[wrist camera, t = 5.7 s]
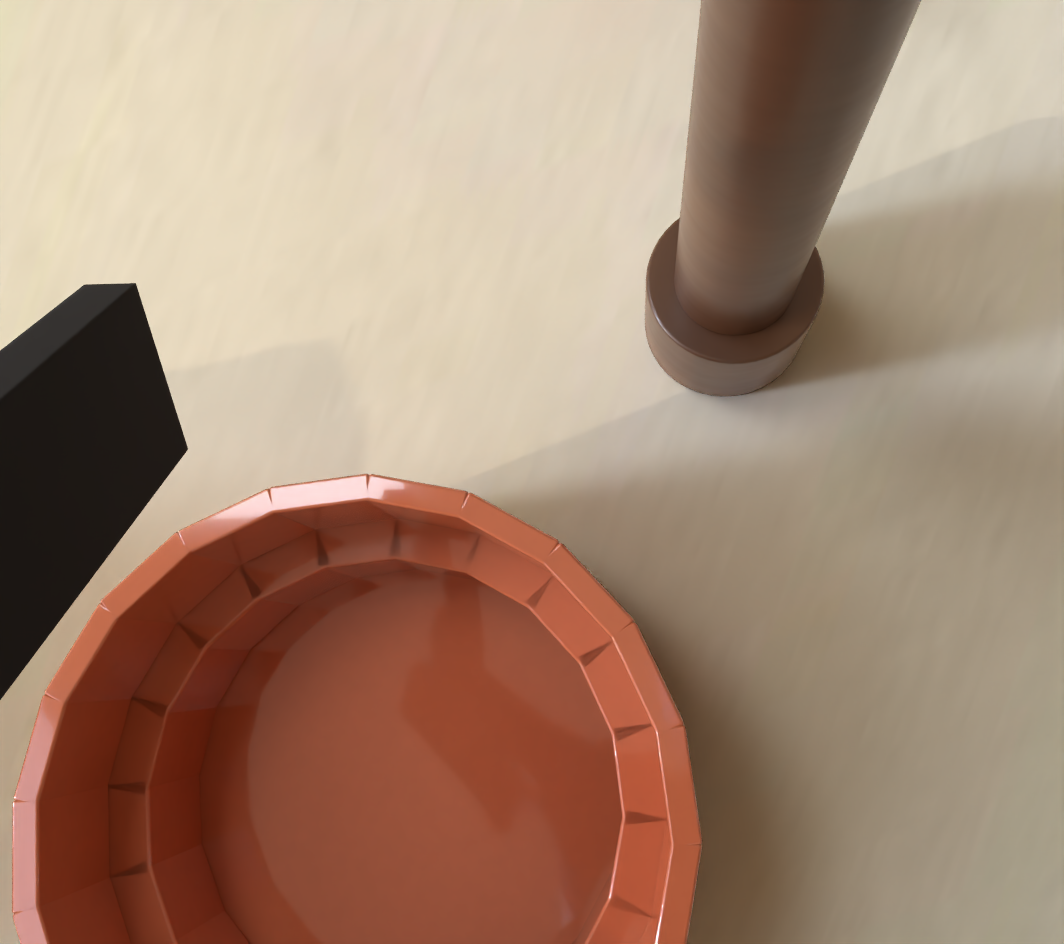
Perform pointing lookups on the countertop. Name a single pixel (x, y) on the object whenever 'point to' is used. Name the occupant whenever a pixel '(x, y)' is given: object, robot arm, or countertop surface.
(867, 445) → the countertop surface
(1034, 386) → the countertop surface
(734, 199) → the brown pestle
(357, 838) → the bowl
